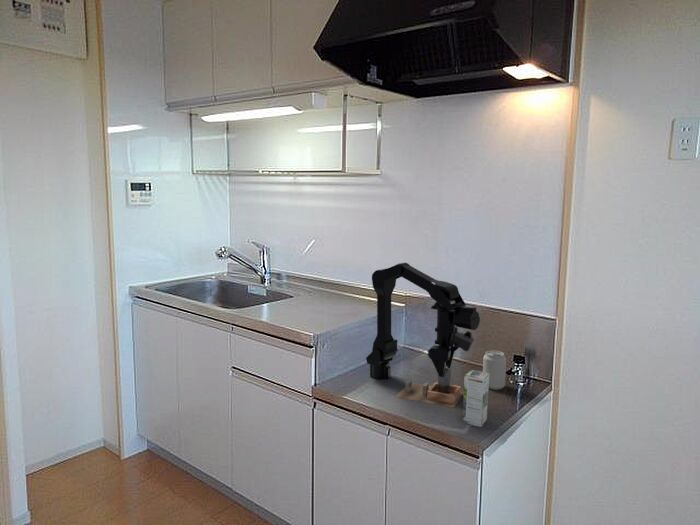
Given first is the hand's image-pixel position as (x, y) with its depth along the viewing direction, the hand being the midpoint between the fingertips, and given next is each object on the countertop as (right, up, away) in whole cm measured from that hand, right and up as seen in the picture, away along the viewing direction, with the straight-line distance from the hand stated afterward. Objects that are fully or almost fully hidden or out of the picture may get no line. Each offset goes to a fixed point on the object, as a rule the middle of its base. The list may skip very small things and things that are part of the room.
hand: (444, 371), depth 165 cm
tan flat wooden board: (-4, -9, +3) cm, 10 cm away
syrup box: (+6, -12, -15) cm, 20 cm away
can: (+19, -8, +12) cm, 24 cm away
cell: (0, -8, +1) cm, 8 cm away
